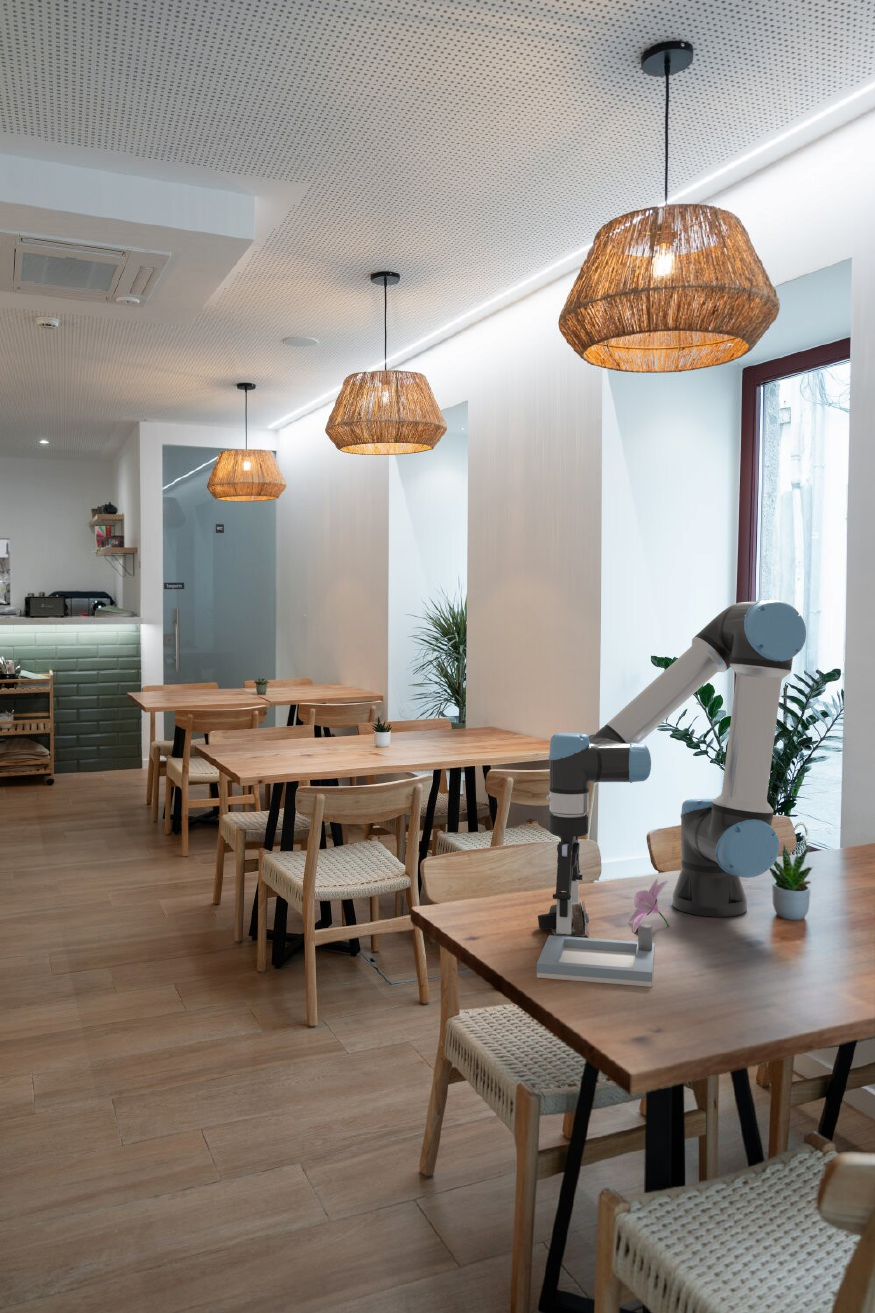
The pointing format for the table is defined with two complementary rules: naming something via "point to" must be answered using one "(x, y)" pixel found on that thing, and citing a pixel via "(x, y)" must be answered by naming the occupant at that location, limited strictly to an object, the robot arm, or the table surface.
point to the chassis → (599, 959)
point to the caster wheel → (577, 920)
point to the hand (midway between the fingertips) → (567, 923)
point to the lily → (646, 904)
